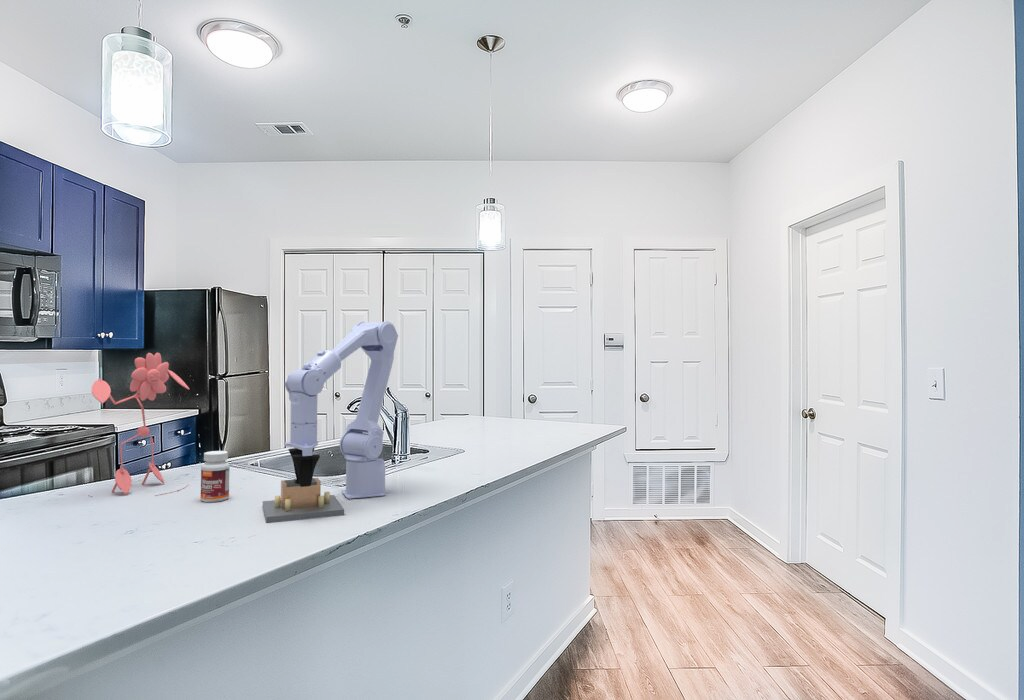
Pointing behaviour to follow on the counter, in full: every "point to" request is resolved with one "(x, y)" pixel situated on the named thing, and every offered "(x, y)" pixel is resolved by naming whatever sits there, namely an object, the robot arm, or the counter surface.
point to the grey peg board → (301, 509)
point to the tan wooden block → (300, 493)
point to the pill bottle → (215, 477)
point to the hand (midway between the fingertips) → (303, 482)
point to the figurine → (147, 385)
